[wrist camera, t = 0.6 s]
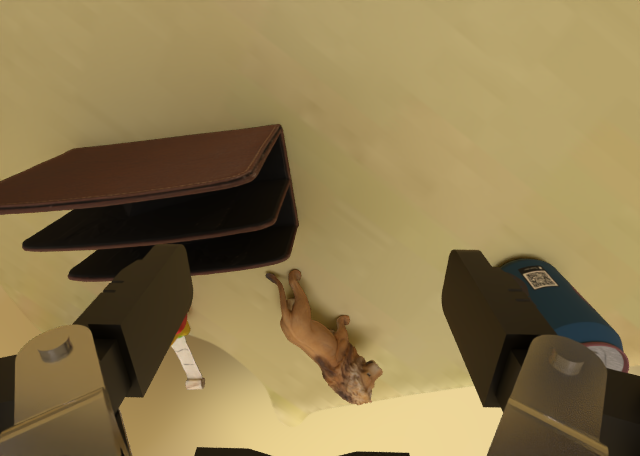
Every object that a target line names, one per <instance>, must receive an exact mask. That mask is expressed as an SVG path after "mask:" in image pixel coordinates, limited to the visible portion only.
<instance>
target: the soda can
mask: <svg viewBox="0 0 640 456" xmlns="http://www.w3.org/2000/svg"><path fill="white" fill-rule="evenodd" d="M500 269H502V270H503V271H504V272H506V273H507V274H509V275H510V276H512V277H513V278H514V279H515V281H516V282H517V283H518V284H519V286H520V287H521V288H522V292H525V293H526V295H527V296H528V297H529V299H530V302H533V304H534V305H535V306H536V308H537V309H538V310H539V312H540V313H541V314H542V315H543V317H544V318H545V319H546V321H547V322H548V323H549V324H550V326H551V327H552V328H553V330H554V331H555V332H556V333H557V335H558V336H563V337H566V338H569V339H572V340H574V341H577V342H579V343H581V344H582V345H584V346H586V347H587V348H589V349H590V350H592V351H593V352H594V353H595V354H596V355H597V356H598V357H599V358H600V359H601V360H602V361H603V363H604V365H605V366H606V368H609V369H613V370H617V371H621V372H625V373H628V370H629V361H628V358H627V356H626V355H625V353H624V352H623V346H622V342H621V339H620V337H619V335H618V334H617V333H616V331H615V330H614V329H613V328H612V327H611V326H610V325H609V324H608V323H607V322H606V321H605V320H604V319H603V318H602V317H601V316H600V315H599V314H598V313H597V312H596V311H595V309H594V308H593V307H592V306H591V305H590V304H589V303H588V302H587V301H586V300H585V299H584V298H583V297H582V296H581V295H580V294H579V293H578V292H577V291H576V290H575V288H574V287H573V286H572V285H571V284H570V283H569V282H568V281H567V280H566V279H565V278H564V277H563V276H562V275H561V274H560V273H559V272H558V271H557V270H556V269H555V268H554V267H553V266H552V265H550V264H549V263H547V262H544V261H541V260H536V259H516V260H513V261H510V262H508V263H506V264H504V265H503V266H501V267H500Z"/></svg>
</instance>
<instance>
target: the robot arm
mask: <svg viewBox="0 0 640 456" xmlns="http://www.w3.org/2000/svg"><path fill="white" fill-rule="evenodd" d="M192 299H193V285H192V279H191V274H190V269H189V263H188V258H187V252H186V249H185V247H184V245H182V244H156V245H155V246H154V247H153V248H152V249H151V250H150V251H149V252H148V254H147V255H146V256H145V257H144V258H143V260H137V261H135V262H133V263H132V264H130V265H128V266H127V267H125V268H124V269H122V270H121V271H120V272H119V273H118V274H117V276H116V277H115V278H114V279H113V280H112V283H109V284H108V286H107V287H106V288H105V289H104V290H103V293H100V294H99V295H98V297H97V298H96V299H95V300H94V301H93V302H92V303H91V304H90V305H89V307H88V308H87V309H86V310H85V311H84V312H83V313H82V314H81V315H80V316H79V318H78V319H77V320H76V321H75V322H74V323H73V324H72V325H65V326H60V327H56V328H53V329H50V330H48V331H46V332H43V333H41V334H39V335H38V336H36V337H34V338H33V339H32V340H30V341H29V342H28V343H26V344H25V345H24V346H23V347H22V348H21V350H20V351H19V352H18V354H17V355H13V356H8V357H3V358H0V456H132V453H131V449H130V445H129V442H128V438H127V434H126V431H125V427H124V423H123V419H122V415H121V413H120V410H119V406H120V405H121V403H122V401H123V399H124V398H125V397H144V395H145V393H146V391H147V389H148V387H149V385H150V383H151V381H152V380H153V378H154V376H155V374H156V372H157V370H158V368H159V366H160V364H161V362H162V360H163V358H164V356H165V354H166V353H167V351H168V349H169V347H170V345H171V343H172V341H173V339H174V337H175V335H176V333H177V332H178V330H179V328H180V326H181V324H182V322H183V320H184V318H185V316H186V314H187V312H188V310H189V308H190V306H191V303H192ZM442 308H443V312H444V315H445V317H446V319H447V322H448V324H449V326H450V329H451V331H452V334H453V336H454V338H455V341H456V343H457V345H458V348H459V350H460V353H461V355H462V357H463V360H464V362H465V365H466V367H467V369H468V372H469V374H470V376H471V379H472V381H473V384H474V386H475V388H476V391H477V393H478V395H479V398H480V400H481V402H482V405H483V407H501V409H502V411H503V415H502V418H501V420H500V423H499V425H498V428H497V430H496V433H495V436H494V438H493V441H492V443H491V446H490V448H489V451H488V454H487V456H640V376H637V375H633V374H629V373H625V372H621V371H617V370H613V369H609V368H606V366H605V365H604V363H603V361H602V360H601V359H600V358H599V357H598V356H597V355H596V354H595V353H594V352H593V351H592V350H590V349H589V348H587V347H586V346H584V345H582V344H581V343H579V342H577V341H574V340H572V339H569V338H566V337H563V336H558V335H557V333H556V332H555V331H554V330H553V328H552V327H551V326H550V324H549V323H548V322H547V321H546V319H545V318H544V317H543V315H542V314H541V313H540V312H539V310H538V309H537V308H536V306H535V305H534V304H533V302H530V299H529V297H528V296H527V295H526V293H525V292H522V288H521V287H520V286H519V284H518V283H517V282H516V281H515V279H514V278H513V277H512V276H510V275H509V274H507V273H506V272H504V271H503V270H502V269H500V268H499V267H492V266H491V265H490V264H489V262H488V261H487V259H486V258H485V257H484V255H483V254H482V252H481V251H479V250H452V251H451V253H450V255H449V260H448V265H447V270H446V275H445V280H444V285H443V290H442ZM195 456H271V455H268V454H264V453H261V452H258V451H255V450H252V449H244V448H204V447H203V448H202V447H197V449H196V452H195ZM340 456H410V455H409V453H394V452H392V453H391V452H353V453H348V454H344V455H340Z"/></svg>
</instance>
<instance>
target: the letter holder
mask: <svg viewBox="0 0 640 456" xmlns="http://www.w3.org/2000/svg"><path fill="white" fill-rule="evenodd" d="M72 209H74V210H72ZM60 210H72V211H71V212H69V213H68V214H66V215H65V216H63V217H62V218H60V219H58V220H57V221H55V222H53V223H52V224H50V225H49V226H47V227H46V228H44V229H43V230H41V231H39V232H38V233H36V234H35V235H33V236H31V237H30V238H28V239H26V240H25V241H24V242H23V244H22V248H23V249H24V250H25V251H34V252H48V251H75V250H97V251H95V252H94V253H93V254H91V255H90V256H89V257H87V258H86V259H85V260H84V261H82V262H81V263H79V264H78V265H76V266H75V267H73V268H72V269H71V270H70V272H69V275H68V278H69V279H70V280H75V281H84V282H99V281H112V280H113V279H114V278H115V277H116V276H117V274H118V273H119V272H120V271H121V270H122V269H124V268H125V267H127V266H128V265H130V264H132V263H133V262H135V261H137V260H143V258H144V257H145V256H146V255H147V254H148V252H149V251H150V250H151V249H152V248H153V247H154V246H155V245H156V244H182V245H184V247H185V249H186V252H187V258H188V263H189V269H190V274H191V276H194V275H206V274H214V273H223V272H231V271H240V270H246V269H253V268H259V267H264V266H269V265H274V264H278V263H281V262H283V261H285V260H287V259H288V258H289V257H290V255H291V251H292V247H293V243H294V239H295V235H296V232H297V228H298V226H299V223H298V218H297V210H296V206H295V199H294V193H293V188H292V182H291V175H290V169H289V163H288V157H287V151H286V146H285V140H284V134H283V129H282V127H281V125H280V124H276V125H268V126H262V127H254V128H247V129H239V130H230V131H222V132H213V133H204V134H195V135H187V136H179V137H171V138H162V139H155V140H146V141H138V142H130V143H121V144H113V145H105V146H96V147H84V148H76V149H72V150H69V151H67V152H66V153H64V154H61V155H59V156H57V157H55V158H52V159H50V160H48V161H45V162H43V163H41V164H38V165H36V166H34V167H32V168H30V169H27V170H25V171H23V172H21V173H19V174H16V175H14V176H11V177H9V178H7V179H5V180H2V181H0V215H4V214H19V213H35V212H48V211H60Z"/></svg>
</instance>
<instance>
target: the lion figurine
mask: <svg viewBox="0 0 640 456" xmlns="http://www.w3.org/2000/svg"><path fill="white" fill-rule="evenodd" d="M288 277H289V284H290V286H291V287H292V289H293V292H294V297H295V299H287V300H286V296H285V292H284V288H283V285H282V283H281V282H280V281H279V280H278V279H277V278H276V276H275V275H274V274H270V273H267V274H266V278H268V279H269V280H271V281H272V282H273V283H275V284H276V285H277V286H278V288H279V293H280V304H281V311H282V318H281V321H280V325H281V329H282V331H283V333H284V334H285V336H286V338H287V339H288V340H289V341H290V342H292V343H293V344H295V345H297V346H298V347H300V348H301V349H302V350H303V351H304V352H305V353H306V354H307V355H308V356H309V357H311V358H312V359H313V360H314V361H315V362H316V363H317V364H318V365H319V367H320V368H321V370H322V375H323V378H324V379H325V381H326V382H327V383H328V385H329V386H330V387H331V388H332V389H333V390H334V391H335V392H336V393H337V394H339V396H341V397H342V399H344V400H347V402H349V403H351V404H357V405H361V404H363V403H368V402H372V401H371V395H372V388H374V382H375V380H376V379H377V378H378V377H380V376H381V375H382V373H383V371H382V369H381V368H379V366H378V365H377V364H376V363H375V361H374V360H370V361H369V362H365V359H364V358H363V357H362V356H359V355H358V354H357V351H356V349H355V347H353V346H352V345H351V344H350V343H349V340H348V334H347V330H346V328H345V325H348V324H349V322H350V319H349V316H346V315H343V316H340V317H339V318H338V319H337V329H338V330H337V331H336V332H335V331H334V330H328V329H327V328H326V327H325V326H324V325H322V324H321V323H319V322H317V321H315V320H311V309H310V306H309V302H308V299H307V297H306V295H305V293H304V291H303V290H302V288H301V287H300V285H299V283H298V280H300V278H301V272H300V271H298V270H292V271H291V272H290V273H289V275H288Z"/></svg>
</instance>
